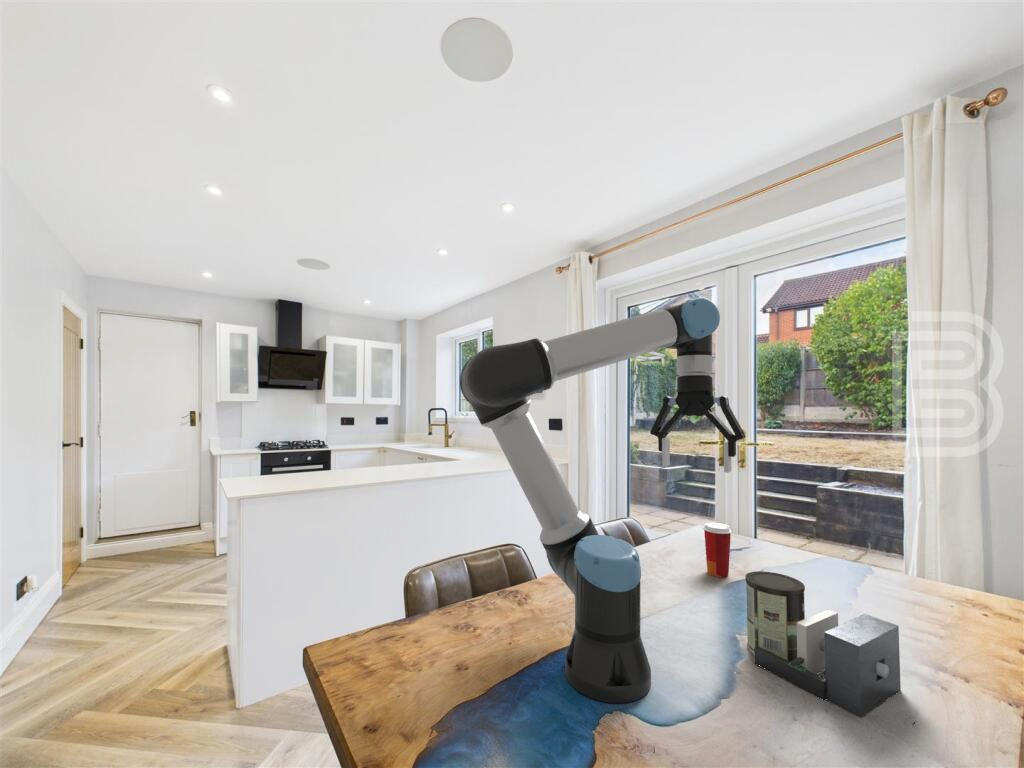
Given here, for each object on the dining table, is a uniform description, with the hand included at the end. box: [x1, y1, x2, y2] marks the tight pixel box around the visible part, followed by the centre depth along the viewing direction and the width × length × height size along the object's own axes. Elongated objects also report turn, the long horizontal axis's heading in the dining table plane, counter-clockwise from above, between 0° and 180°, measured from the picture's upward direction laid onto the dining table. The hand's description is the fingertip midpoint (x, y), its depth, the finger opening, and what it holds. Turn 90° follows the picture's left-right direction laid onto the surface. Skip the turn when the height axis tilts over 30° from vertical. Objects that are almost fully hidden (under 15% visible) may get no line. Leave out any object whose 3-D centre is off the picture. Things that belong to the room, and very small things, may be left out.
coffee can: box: [744, 570, 806, 662], centre depth 89 cm, size 10×10×14 cm
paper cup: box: [702, 522, 732, 578], centre depth 130 cm, size 8×8×14 cm
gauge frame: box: [753, 613, 902, 719], centre depth 81 cm, size 17×15×11 cm
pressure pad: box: [790, 609, 889, 678], centre depth 77 cm, size 11×14×9 cm
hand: (695, 468), depth 101 cm, fingers open, 13 cm apart
